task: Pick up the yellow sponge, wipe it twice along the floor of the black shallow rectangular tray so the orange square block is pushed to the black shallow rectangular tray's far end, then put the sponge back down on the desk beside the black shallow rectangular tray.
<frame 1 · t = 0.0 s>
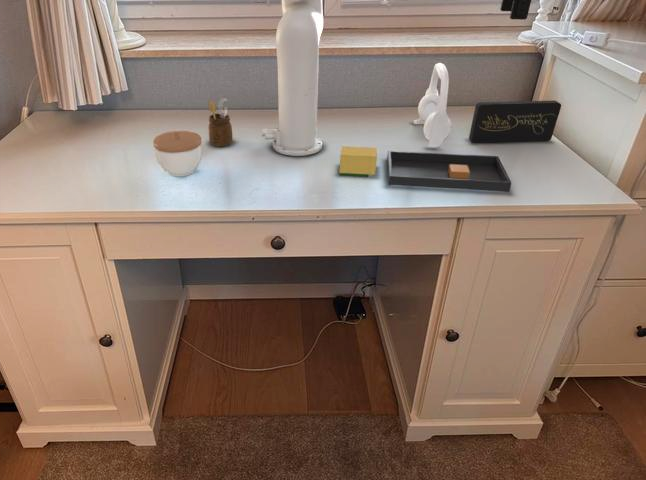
hand: (512, 14, 107), 31 cm above the table, tool pointing down, fingers open, 9 cm apart
black shallow rectangular tray: (443, 176, 116), on the table
trinket box: (181, 171, 119), on the table
orange square block: (458, 174, 115), point 1 cm above the table, touching black shallow rectangular tray
nameplate: (508, 141, 133), on the table
sponge: (357, 171, 118), on the table
headset: (429, 136, 136), on the table
utensil holder: (221, 144, 133), on the table
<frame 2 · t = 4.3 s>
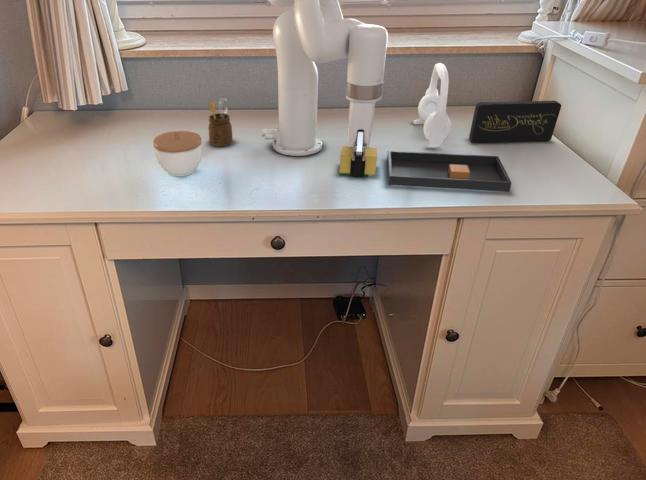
hand: (357, 170, 118), 0 cm above the table, tool pointing down, fingers closed on sponge, 5 cm apart
sponge: (357, 171, 118), on the table, touching gripper
everything else where it was.
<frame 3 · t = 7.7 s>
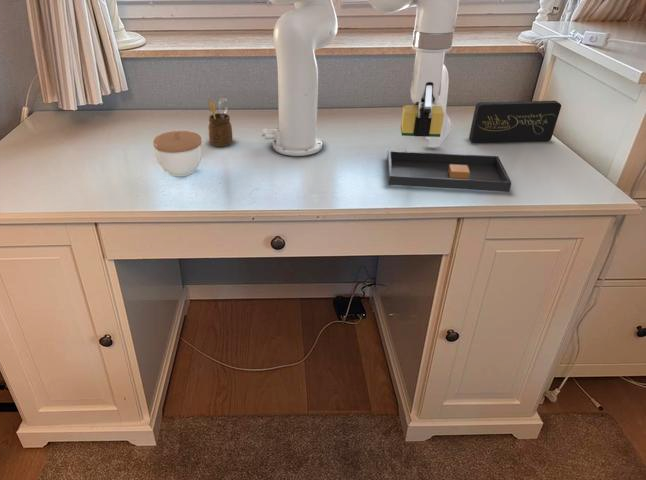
hand: (420, 130, 111), 10 cm above the table, tool pointing down, fingers closed on sponge, 5 cm apart
sponge: (419, 132, 111), point 10 cm above the table, touching gripper
everything else where it was.
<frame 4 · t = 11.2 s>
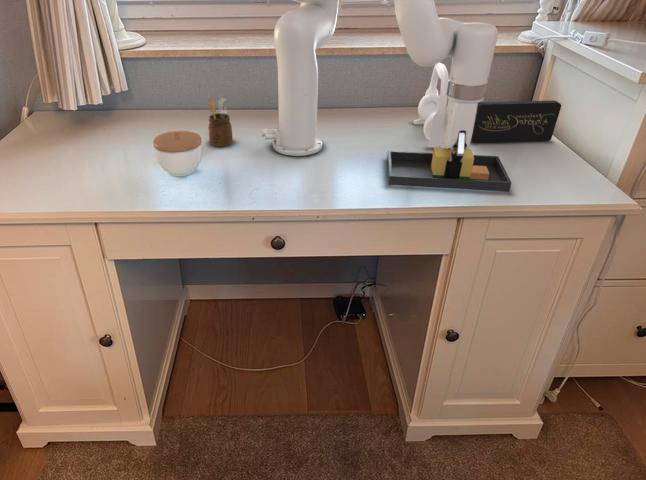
hand: (449, 172, 115), 1 cm above the table, tool pointing down, fingers closed on sponge, 5 cm apart
orange square block: (477, 175, 115), point 1 cm above the table, touching sponge
sponge: (449, 173, 115), point 1 cm above the table, touching orange square block, gripper
everything else where it was.
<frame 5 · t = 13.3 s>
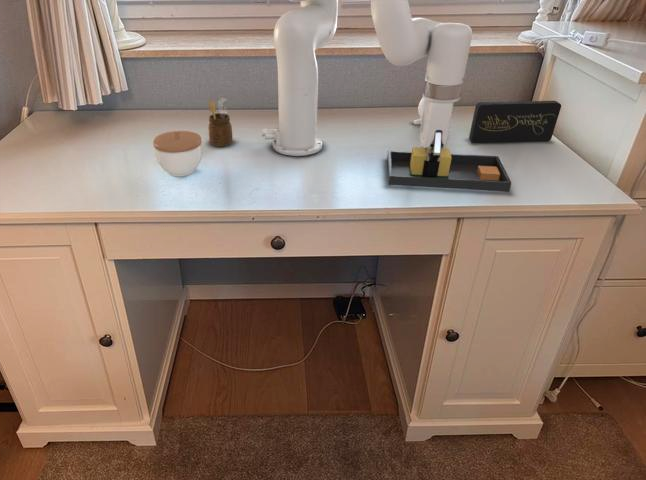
hand: (428, 171, 116), 1 cm above the table, tool pointing down, fingers closed on sponge, 5 cm apart
orange square block: (487, 176, 114), point 1 cm above the table, touching black shallow rectangular tray
sponge: (428, 173, 116), point 1 cm above the table, touching gripper
everything else where it was.
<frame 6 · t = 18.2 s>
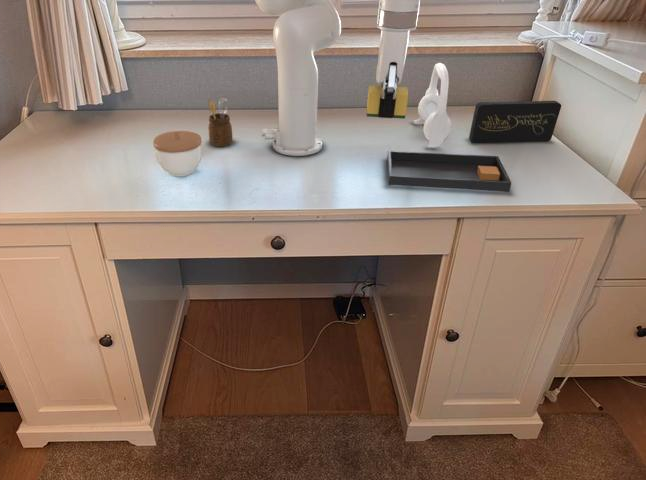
hand: (385, 111, 110), 14 cm above the table, tool pointing down, fingers closed on sponge, 5 cm apart
sponge: (385, 113, 110), point 14 cm above the table, touching gripper
everything else where it was.
when the fingers open (0 cm above the table, at t = 22.2 s): sponge stays where it is, on the table.
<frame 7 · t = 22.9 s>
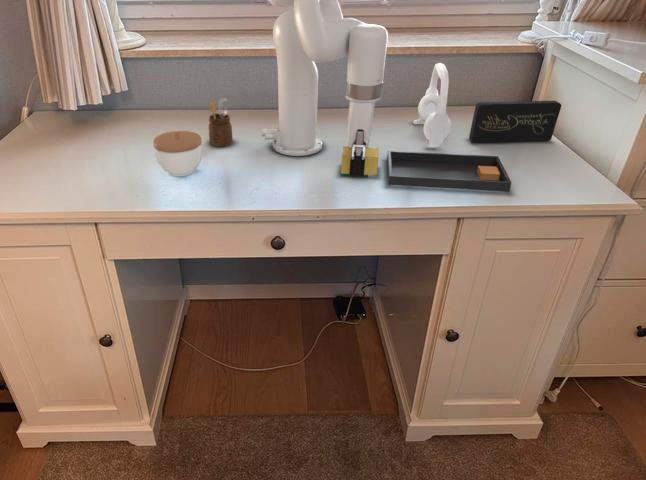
hand: (357, 166, 118), 1 cm above the table, tool pointing down, fingers open, 9 cm apart
sponge: (358, 172, 118), on the table
everything else where it was.
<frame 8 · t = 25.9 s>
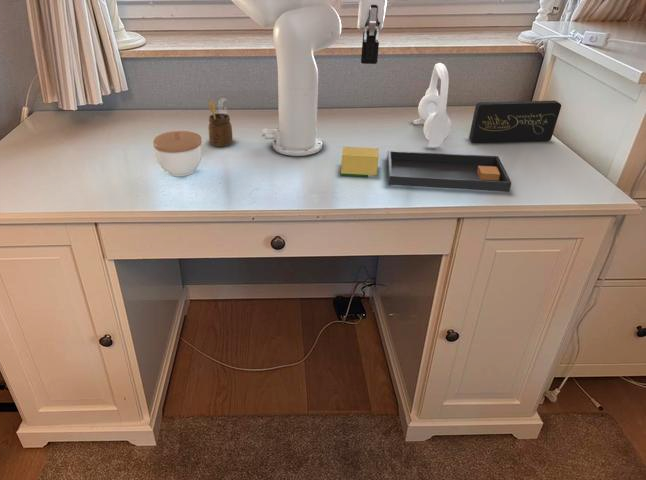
hand: (369, 57, 107), 24 cm above the table, tool pointing down, fingers open, 9 cm apart
nothing on the table moved.
at the end: orange square block moved 6.4 cm from its start; orange square block inside the target area in the black shallow rectangular tray (1.2 cm from its centre), point 0.6 cm above the black shallow rectangular tray's base; sponge inside the target area (0.3 cm from its centre), on the table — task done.
